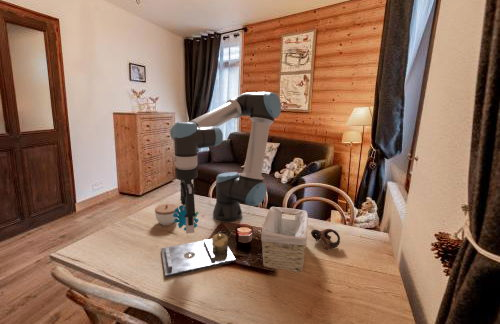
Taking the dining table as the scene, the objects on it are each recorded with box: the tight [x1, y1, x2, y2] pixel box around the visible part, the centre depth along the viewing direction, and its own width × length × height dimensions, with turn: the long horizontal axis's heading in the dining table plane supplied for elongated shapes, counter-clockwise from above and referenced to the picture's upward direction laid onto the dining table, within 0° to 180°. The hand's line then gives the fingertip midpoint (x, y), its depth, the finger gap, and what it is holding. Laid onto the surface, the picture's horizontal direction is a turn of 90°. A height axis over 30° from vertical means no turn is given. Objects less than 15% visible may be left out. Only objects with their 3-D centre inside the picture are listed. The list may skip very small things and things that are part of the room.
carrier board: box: [160, 232, 236, 279], centre depth 95 cm, size 25×17×7 cm
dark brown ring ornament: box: [310, 228, 341, 252], centre depth 105 cm, size 12×10×8 cm
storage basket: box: [260, 206, 309, 273], centre depth 97 cm, size 24×16×15 cm
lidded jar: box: [154, 203, 179, 226], centre depth 121 cm, size 11×11×9 cm
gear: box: [173, 205, 199, 232], centre depth 91 cm, size 11×6×10 cm
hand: (187, 226), depth 91 cm, fingers closed on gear, 9 cm apart
